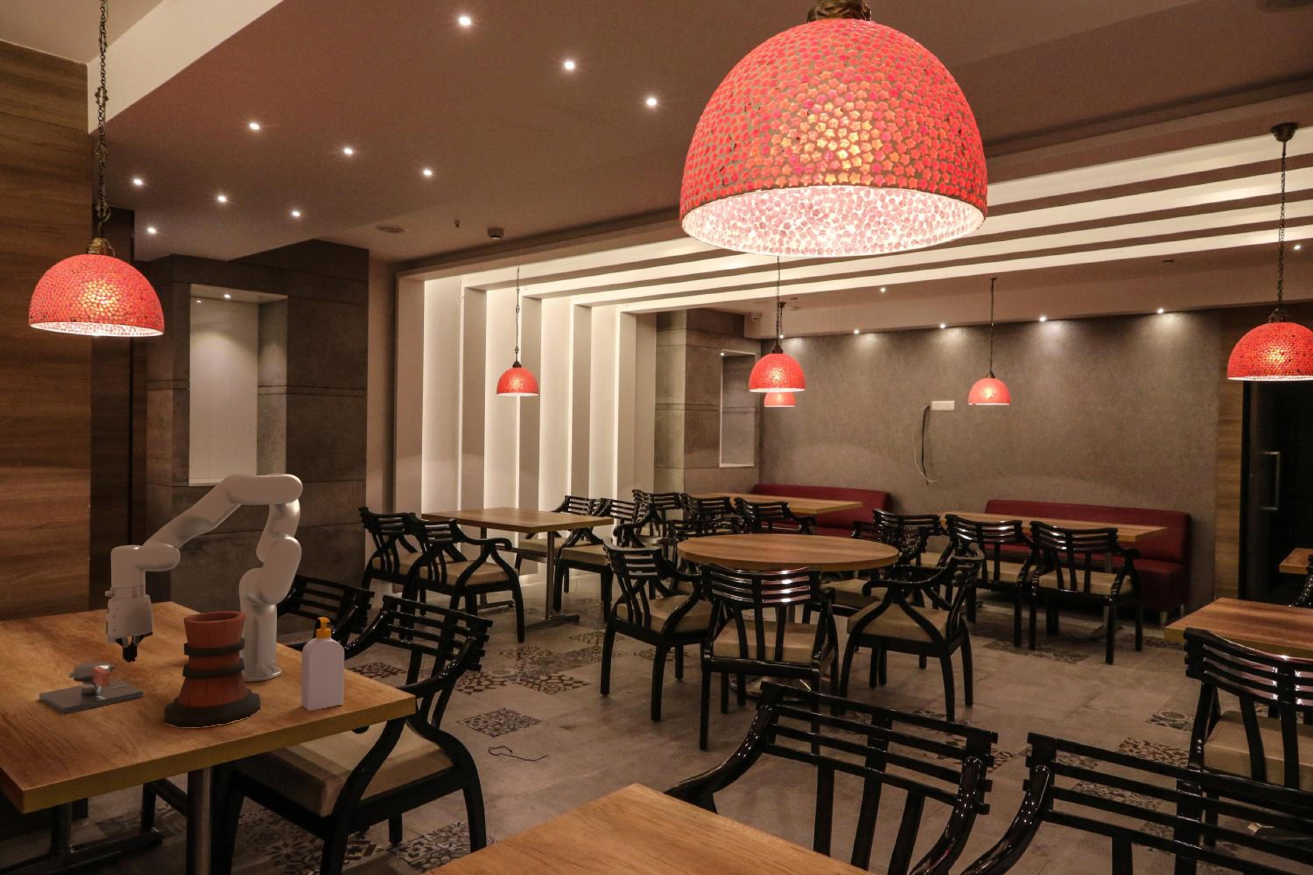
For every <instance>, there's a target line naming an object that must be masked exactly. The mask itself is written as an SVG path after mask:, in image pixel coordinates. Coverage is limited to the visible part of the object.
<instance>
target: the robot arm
mask: <svg viewBox="0 0 1313 875" xmlns="http://www.w3.org/2000/svg"><path fill="white" fill-rule="evenodd" d="M303 488H304V487H303V483H302V481H301V480H300V478H299V477H297V476H296V475H293V474H290V473H281V472H273V473H272V472H271V473H269V474H266V475H265V474H263V475H254V474H242V473H233V474H230V475H228V476H226V477H225V478H223V479H222V480H221V481H220V482H219V483H217V484H216V486H214V487H212V489H211V490H210V491H209V492H208V493H206V494H205V495H204V496H203V497H202V498H200V499H199V500H198V501H196V503H195V504H194V505H192V506H191V507H190V508H188V509H186V510H185V511H183V512H182V513H181V514H179V515H178V516H176V517H175V518H173V519H172V520H171V521H169V522H168V523H166V524H165V525H163V526H162V527H161V528H159V530H158V531H156V532H155V533H154V534H152V536H151V537H149V538H148V539H147V540H146V541H145V542H144V543H143V544H142V545H138V544H137V545H136V544H128V545H120V546H116V547H114V548H112V550H111V552H110V562H111V563H110V564H111V565H110V566H111V567H110V568H111V569H110V570H111V571H110V572H111V574H110V575H111V577H110V578H111V587H110V589H109V590H107V591H106V590H105V591H104V594H105V597H110V599H108V602H107V603H108V604H107V607H106V608H107V609H106V614H105V634H106V636H105V640H104V641H105V642H106V643H108V644H118V645H119V646H121V648H122V660H124V661H125V662H126V663H128V664H129V663H131V662H133V663H134V662H136V658H138V646H139V645H140V643H141V642H142V641H143V640H144V639H145V638H147V637H151V636H152V635H153V633H154V631H153V630H154V627H155V626H154V624H155V623H154V615H153V614H154V613H153V608H152V607H153V606H152V602H151V597H150V595H149V594H146V572H165V571H170V570H171V569H174V568H175V567H176V566H177V565H178V564H179V563H180V560H181V553H180V550H179V549H180V548H181V547H182V546H183V545H185V544H186V543H188V542H189V541H190V540H191V539H194V538H196V537H198V536H200V535H203V534H206V533H209V532H210V531H212V530H215V529H216V528H217V527H218V526H219V525H220V524H222V523H223V522H224V521H225V520H226V519H227V518H228V517H229V516H230V515H232V514H233V513H234V512H235V511H236V510H238V508H240V507H241V505H245V506H246V505H247V506H256V505H257V506H259V505H260V506H262V505H264V506H265V505H268V506H269V513H268V517H267V519H266V524H265V527H264V528H263V531H262V533H261V536H260V539H259V541H258V544H257V545H256V546H257V547H256V553H255V554H256V557H257V558H258V560H259V561H260V562H262V563H263V565H262V566H261V567H256V568H255V567H254V568H251V569H249V570H247V571H246V572H245V573H244V574H243V575H242V577H241V579H240V580H239V585H238V593H239V594H238V595H239V604H240V612H242V613H245V614H246V618H245V623H244V628H243V632H242V638H244V639H245V646H244V649H242V650H240V658H243V660H244V666H245V670H243V671H241V672H242V675H243V678H244V681H245V683H246V682H250V683H251V682H259V681H260V682H261V681H267V680H271V679H275V678H277V677H279V676H280V675H281V674H282V668H280V667H278V666H277V664H276V663H277V662H276V661H277V625H278V624H277V622H278V620H277V618H278V617H277V616H278V613H277V612H278V611H277V610H278V609H277V604H279V603H281V602H282V601H284V599H286V597H287V595H288V594H289V592H290V589H291V586H292V584H293V582H294V579H295V576H296V573H297V570H298V569H299V565H300V562H301V559H302V547H301V544H300V542H299V540H297V539H296V538H295V535H296V532H297V529H298V526H299V522H300V519H301V506H300V505H301V504H300V501H299V498H300V497H301V495H302V493H303ZM129 637H131V639H130V643H129V639H128V638H129Z"/></svg>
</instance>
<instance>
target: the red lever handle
mask: <svg viewBox="0 0 1313 875" xmlns="http://www.w3.org/2000/svg"><path fill="white" fill-rule="evenodd" d="M115 668H116V666H115V664H112V665H111V662H108V661H93V662H92V661H91V662H86V663H82V664H78V665H76V666H74V667H73V671H71V672H68V673H67V674H68V679H71V678H72V679H73V681H74V682H81V683H82V682H86V681H94V682H95V683H96V684H98V685H99V686H101V687H107V686H109V680H110V676H111V672H113V671H115Z"/></svg>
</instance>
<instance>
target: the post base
mask: <svg viewBox="0 0 1313 875" xmlns="http://www.w3.org/2000/svg"><path fill="white" fill-rule="evenodd" d="M38 695H39V696H38V700H39V701H41V702H43V703H44V704H46V705H47V706H49V707H50V708H52V709H54V710H55V711H57V712H59V713H60V714H62V715H65V713H67V714H70V713H75V712H74V711H76V712H78V711H77V710H81V711H84V710H89V708H90V709H93V708H92V707H94V708H97V707H96V706H99V707H102V706H101V705H103V706H105V705H104V704H108V705H110V704H109V703H113V704H115V703H114V702H117V703H120V702H119V701H122V702H124V701H123V700H126V701H130V700H129V699H131V700H134V699H135V698H136V699H139V697H140V698H143V697H144V696H143V695H144V691H143V690H141V689H138V688H137V687H135V686H133V685H131V684H128V683H127V682H125V681H123V680H120V679H118V678H112V679H109V686H107V687H101V686H99V685H98V684H96V683H95V682H94V681H86V682H81V684H80V685H77V686H71V687H67V688H62V689H57V690H51V691H46V692H41V693H39V694H38ZM136 699H135V700H136Z"/></svg>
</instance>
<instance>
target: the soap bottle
mask: <svg viewBox="0 0 1313 875" xmlns="http://www.w3.org/2000/svg"><path fill="white" fill-rule="evenodd" d="M317 621H320V628H318V629H316V630H315V631H316V632H315V638H311V640H309V641H307V642H306V644H305V645H304V646H303V647H302V651H301V680H300V681H301V682H300V683H301V684H300V686H301V689H300V691H301V692H300V704H301V706H302V705H303V706H304V707H303V706H302V707H303V708H304V709H306V711H308V710H315V709H320V708H324V707H330V706H335V705H340V704H342V705H344V685H345V683H344V682H345V680H344V679H345V678H344V677H345V675H344V674H345V669H344V668H345V650H344V647H343V646H342V644H341V643H339V642H338V641H336V640H335V639H333V638H332V629H331V628H328V627H327V623H331V621H330V619H329V618H328V617H325V616H320V617H319V616H318V618H317ZM320 710H321V709H320ZM315 711H316V710H315Z"/></svg>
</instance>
